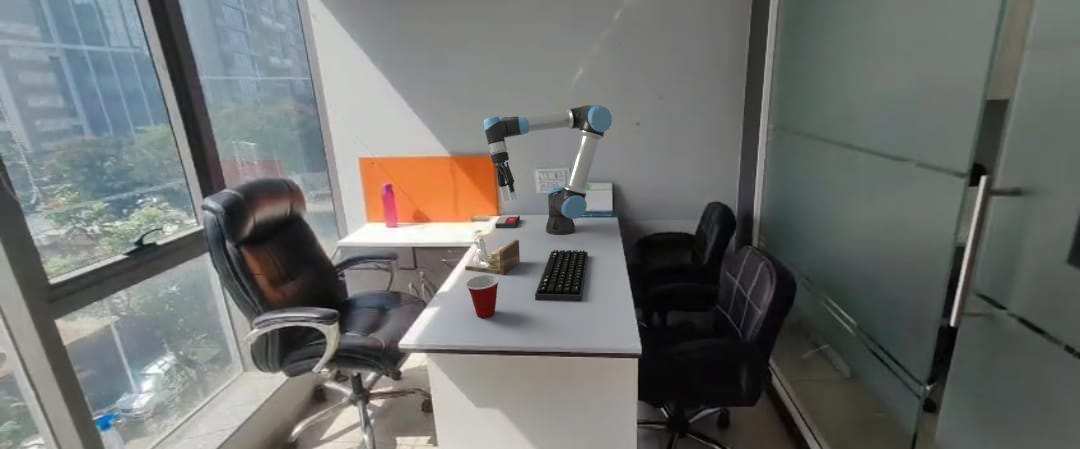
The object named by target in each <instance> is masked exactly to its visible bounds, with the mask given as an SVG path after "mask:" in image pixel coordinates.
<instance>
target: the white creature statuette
mask: <svg viewBox="0 0 1080 449" xmlns="http://www.w3.org/2000/svg"><path fill="white" fill-rule="evenodd" d="M473 244H474V246H476V248H477V249H476V251H475V255H474V257H473V258H472V261H473V264H474V265H475V267H481V268H490V269H491V260H492V259H491V257H488V256H489V255H488V252H487V249H486V246H487V245H486V242H485V239H483V237H479V238H477V239H476V240H475V241H474V242H473Z"/></svg>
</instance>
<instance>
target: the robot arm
mask: <svg viewBox="0 0 1080 449" xmlns="http://www.w3.org/2000/svg"><path fill="white" fill-rule="evenodd" d="M612 121H613V117H612V113H611V111H610V110H609V109H608V108H607V107H606V106H603V105H599V104H595V105H592V104H590V105H589V104H587V105H581V106H578V107H577V106H576V107H573V108H568V109H566V110H565V111H557V112H547V113H536V114H527V115H517V116H503V117H501V118H500V116H490V117H486V118H485V119H484V120H483V128H484V133H485V138H486V140H487V144H488V147H487V149H488V150H489V152H490V154H491V156H490V158H491V162H492V164H496V165H495V168H496V176H497V183H498V184H497V185H498V187H499V188H500V192H501V196H502V201H503V202H507V201H513V200H514V201H515V200H518V198H517V193H516V189H515V184H514V183H515V178H514V176H513V174H512V173H513V172H512V171H511V168H510V166H509V162H508V161H509V160H510V156H509V153H508V151H507V150H508V147H507V143H506V140H505V138H509V137H515V136H516V137H517V136H522V135H525V134H528V133H529V132H535V131H544V130H545V131H546V130H552V129H553V130H554V129H564V128H567V129H569V130H572V129H573V130H574V129H579V130H578V131H579V133H580V138H579V142H578V145H577V149H576V152H575V156H574V160H573V163H572V166H571V170H570V173H569V176H568V181H567V184H566V185H564V186H554V187H553V186H552V187H550V188H548V191H547V200H548V201H547V202H548V218H547V223H546V225H545V232H546V233H548V234H550V235H560V236H561V235H568V234H573V233H574V232H575V231H576V225H575V223H574V220H575V219H579V218H580V217H582V216H583V215H585V213H586V210H587V205H588V204H587V201H586V197H587V191H586V185H587V182H588V178H589V175H590V172H591V168H592V165H593V161H594V158H595V155H596V150H597V149H598V148H597V147H598V144H599V140H602V139H603V138H604V135H605V132H606V131H607V130H609V129H610V127H611V126H612Z"/></svg>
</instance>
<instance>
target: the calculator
mask: <svg viewBox="0 0 1080 449" xmlns="http://www.w3.org/2000/svg"><path fill="white" fill-rule="evenodd" d="M520 222H521V217H520V215H519V214H502V215H500V216H499V218H498V219H497V220H496V222H495V226H494V227H495V229H516V228H518V225H519V224H520Z"/></svg>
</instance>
